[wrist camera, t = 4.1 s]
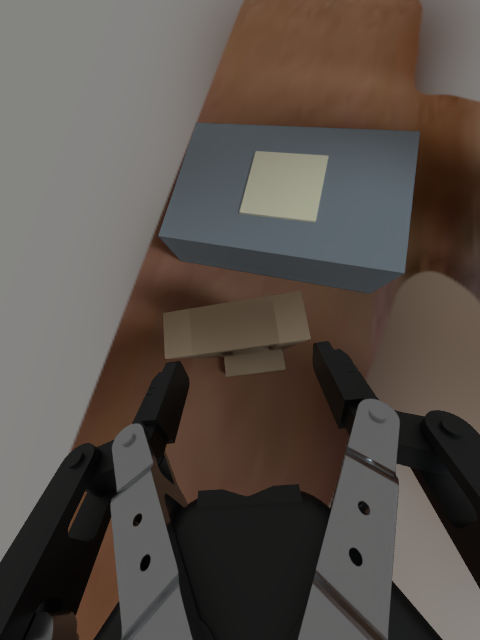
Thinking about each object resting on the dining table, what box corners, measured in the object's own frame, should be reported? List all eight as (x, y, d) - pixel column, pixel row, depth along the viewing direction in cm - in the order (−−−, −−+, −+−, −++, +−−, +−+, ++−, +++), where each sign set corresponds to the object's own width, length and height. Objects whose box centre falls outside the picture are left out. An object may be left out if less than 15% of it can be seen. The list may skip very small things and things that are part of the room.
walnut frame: (284, 368, 20) (321, 393, 7) (228, 375, 20) (167, 409, 7) (275, 313, 21) (292, 247, 8) (222, 321, 21) (161, 271, 9)
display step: (385, 181, 22) (421, 128, 17) (369, 293, 20) (406, 272, 15) (209, 167, 26) (195, 120, 20) (180, 260, 23) (157, 234, 18)
